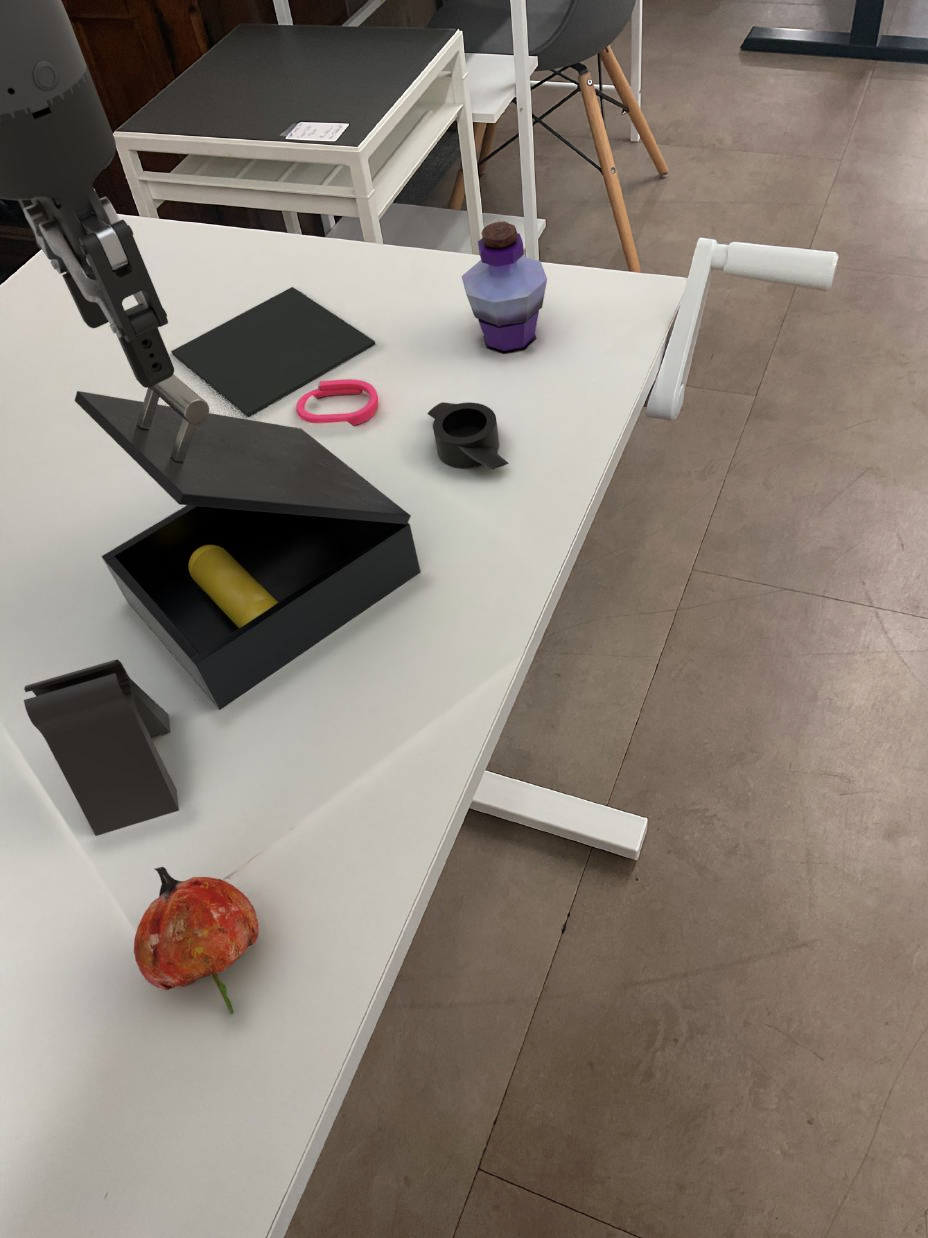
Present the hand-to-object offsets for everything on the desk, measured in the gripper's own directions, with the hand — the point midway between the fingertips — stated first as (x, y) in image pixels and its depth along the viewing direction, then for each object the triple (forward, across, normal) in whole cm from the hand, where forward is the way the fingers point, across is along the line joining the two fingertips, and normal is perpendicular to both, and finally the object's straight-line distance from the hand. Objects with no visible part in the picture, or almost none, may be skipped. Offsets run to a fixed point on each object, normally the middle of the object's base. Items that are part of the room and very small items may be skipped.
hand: (129, 349), depth 63 cm
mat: (+26, -32, +20) cm, 47 cm away
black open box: (+26, -1, +3) cm, 27 cm away
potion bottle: (+27, -16, +39) cm, 50 cm away
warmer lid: (+13, -1, +5) cm, 14 cm away
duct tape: (+27, -5, +26) cm, 37 cm away
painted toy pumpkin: (+27, +24, -15) cm, 39 cm away
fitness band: (+27, -18, +20) cm, 38 cm away
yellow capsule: (+26, -1, 0) cm, 26 cm away
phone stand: (+27, +8, -14) cm, 31 cm away
